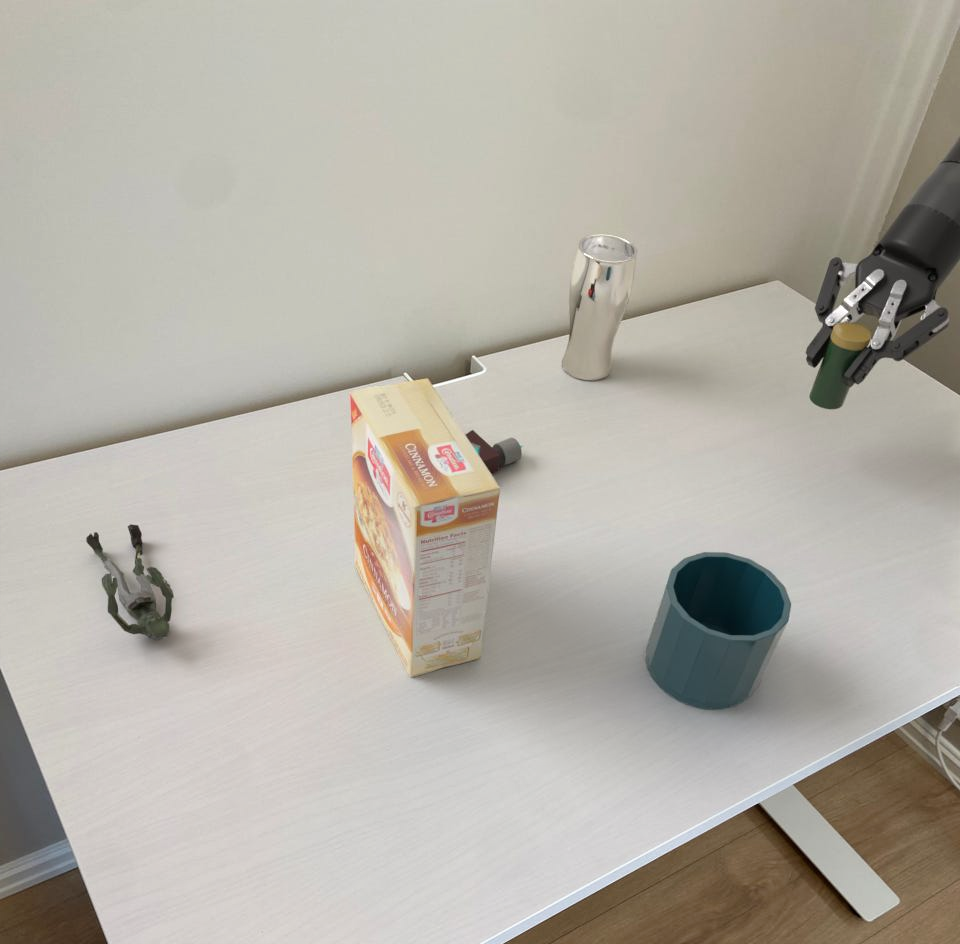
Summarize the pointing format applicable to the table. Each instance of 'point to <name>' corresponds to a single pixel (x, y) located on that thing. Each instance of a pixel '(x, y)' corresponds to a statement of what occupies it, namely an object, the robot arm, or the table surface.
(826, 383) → the tea tin
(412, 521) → the coffeecake box
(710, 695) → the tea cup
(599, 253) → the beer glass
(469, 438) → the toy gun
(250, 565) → the table surface
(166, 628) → the zombie figurine
